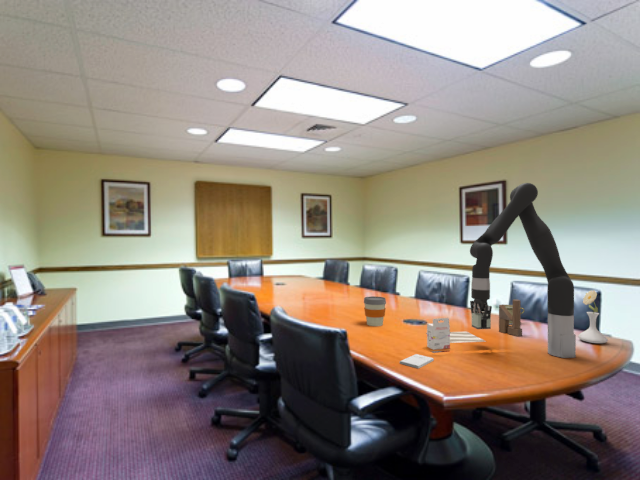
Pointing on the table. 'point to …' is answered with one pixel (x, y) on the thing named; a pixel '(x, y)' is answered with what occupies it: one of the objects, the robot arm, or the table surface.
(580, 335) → the flower in vase
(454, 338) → the birch board
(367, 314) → the reusable coffee cup
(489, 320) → the block
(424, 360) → the external hard drive
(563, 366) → the table surface
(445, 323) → the ink cartridge box
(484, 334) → the table surface
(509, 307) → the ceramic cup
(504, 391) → the table surface
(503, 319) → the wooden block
